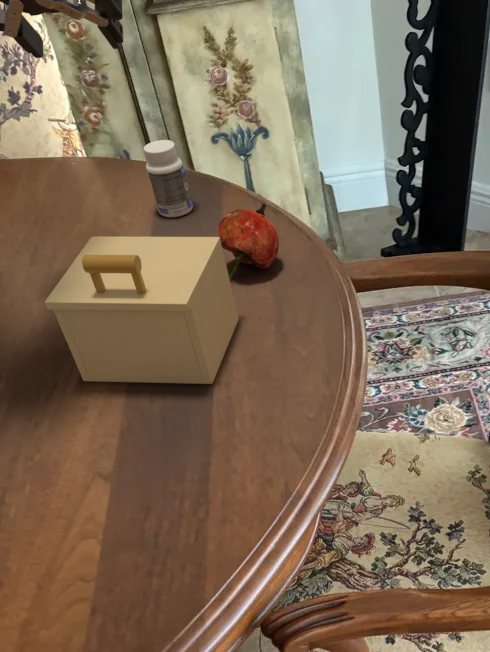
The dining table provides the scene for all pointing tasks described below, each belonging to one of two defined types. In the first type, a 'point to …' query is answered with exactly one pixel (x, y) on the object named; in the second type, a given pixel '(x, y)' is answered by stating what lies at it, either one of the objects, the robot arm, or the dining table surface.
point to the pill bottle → (167, 179)
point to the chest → (156, 337)
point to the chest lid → (135, 274)
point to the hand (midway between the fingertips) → (78, 45)
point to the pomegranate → (249, 237)
